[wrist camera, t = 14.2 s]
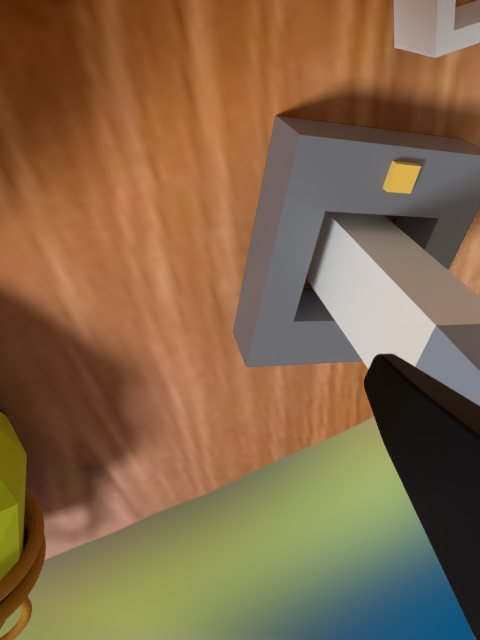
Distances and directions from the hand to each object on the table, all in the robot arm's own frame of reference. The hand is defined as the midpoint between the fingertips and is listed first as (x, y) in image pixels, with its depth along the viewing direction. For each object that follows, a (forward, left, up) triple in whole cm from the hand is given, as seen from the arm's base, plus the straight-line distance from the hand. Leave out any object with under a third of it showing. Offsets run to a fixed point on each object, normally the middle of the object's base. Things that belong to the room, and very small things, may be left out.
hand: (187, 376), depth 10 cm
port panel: (+11, +2, -13) cm, 17 cm away
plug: (+11, +2, -13) cm, 17 cm away
